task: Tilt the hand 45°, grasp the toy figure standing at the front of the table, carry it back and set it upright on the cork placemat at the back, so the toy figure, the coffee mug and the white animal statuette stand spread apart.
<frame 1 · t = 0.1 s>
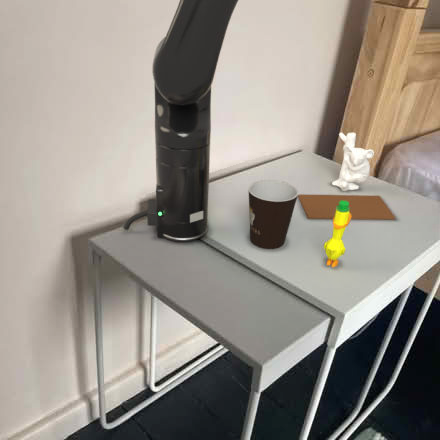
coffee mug: (268, 237, 93), on the table
toy figure: (332, 264, 86), on the table
white animal statuette: (346, 188, 112), on the table
placemat: (344, 207, 104), on the table
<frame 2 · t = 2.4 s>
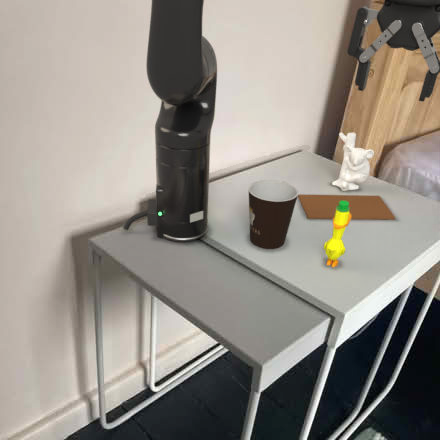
hand: (391, 94, 71), 28 cm above the table, tool pointing down, fingers open, 8 cm apart
nothing on the table moved.
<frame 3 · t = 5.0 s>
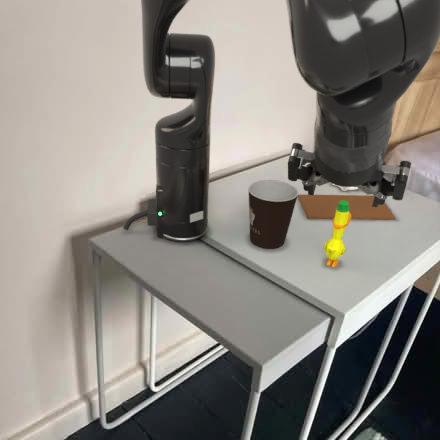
hand: (344, 194, 67), 18 cm above the table, tool tilted 45°, fingers open, 8 cm apart
nothing on the table moved.
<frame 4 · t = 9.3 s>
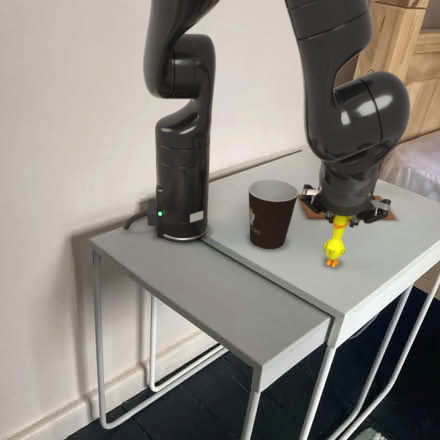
hand: (342, 219, 84), 7 cm above the table, tool tilted 45°, fingers closed on toy figure, 3 cm apart
toy figure: (332, 264, 86), on the table, touching gripper
everything else where it was.
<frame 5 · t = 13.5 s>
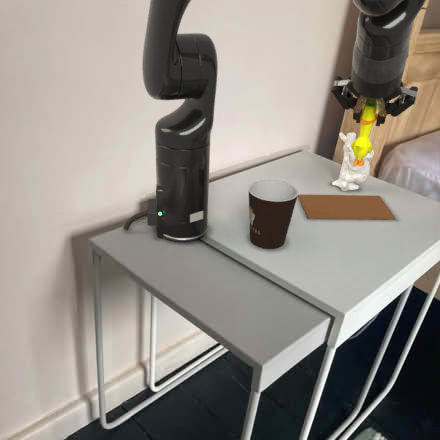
hand: (369, 119, 88), 20 cm above the table, tool tilted 45°, fingers closed on toy figure, 3 cm apart
toy figure: (358, 164, 91), point 12 cm above the table, touching gripper
everything else where it was.
when the fingers open (8 cm above the table, at t = 17.9 s): toy figure stays where it is, resting on placemat.
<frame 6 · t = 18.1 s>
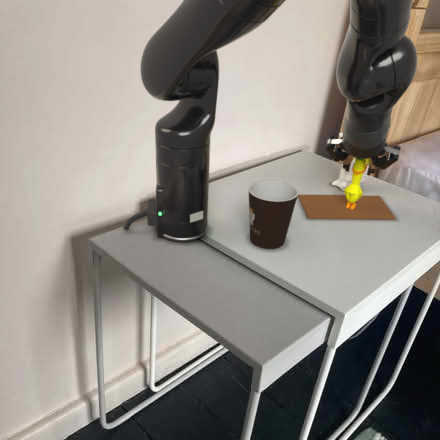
hand: (359, 169, 101), 8 cm above the table, tool tilted 45°, fingers open, 3 cm apart
toy figure: (351, 207, 104), resting on placemat
everything else where it was.
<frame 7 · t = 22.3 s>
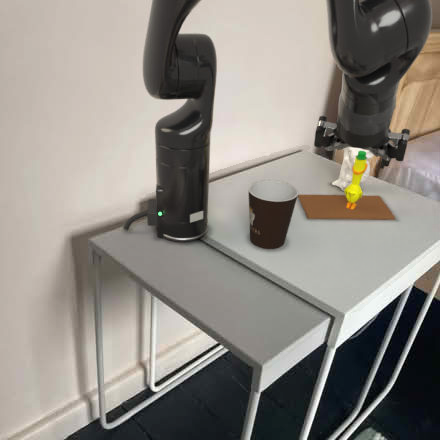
hand: (357, 159, 85), 15 cm above the table, tool tilted 45°, fingers open, 8 cm apart
nothing on the table moved.
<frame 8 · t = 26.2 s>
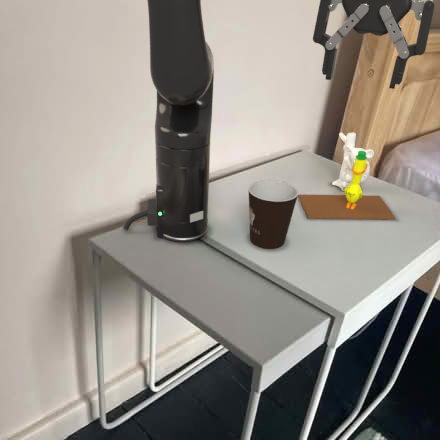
hand: (360, 83, 68), 30 cm above the table, tool pointing down, fingers open, 8 cm apart
nothing on the table moved.
at the end: toy figure inside the target area on the placemat (1.2 cm from its centre), point 0.3 cm above the placemat's base; toy figure tilted 0°; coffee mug moved 0.2 cm from its start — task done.
